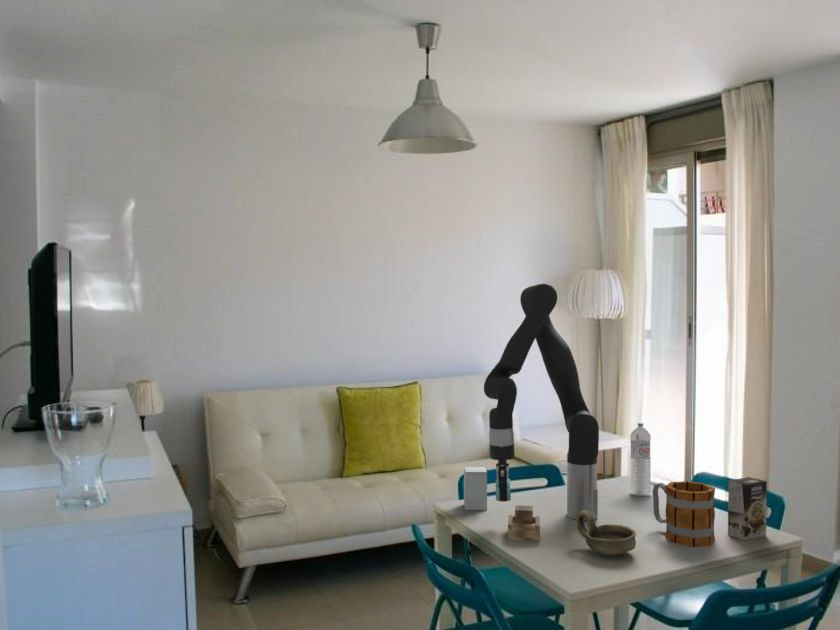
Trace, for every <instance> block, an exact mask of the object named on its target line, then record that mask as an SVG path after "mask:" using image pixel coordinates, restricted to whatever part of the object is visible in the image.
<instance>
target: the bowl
mask: <svg viewBox="0 0 840 630" xmlns="http://www.w3.org/2000/svg"><path fill="white" fill-rule="evenodd" d="M584 517H585V518H586V520H583V518H584ZM585 521H587V528H586V526H585ZM575 525H576V528H577V530H578V532H579V534H580V535H581V536H582V537H583V538H584V539H585V542H586V544H587V546H588V547H589V548H590V550H592V551H593V552H595V553H597V554H600V555H604V556H619V555H622V554H625V553H627V552H630V551H632V550H634V549H635V548H636V545H637V541H636V536H637V535H636V534H637V532H636V531H635V530H634V529H633V528H631V527H630V526H627V525H623V524H616V523H615V524H614V523H611V524H601V525H596V522H595V519H594V518H593V516H592V514H591V513H590V512H589V511H586V510H585V511H581V512H579V513H578V514H577V516H576V519H575Z"/></svg>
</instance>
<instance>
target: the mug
mask: <svg viewBox="0 0 840 630" xmlns="http://www.w3.org/2000/svg"><path fill="white" fill-rule="evenodd" d="M659 487H660V488H661V489H662V491H663V492H664V493H665V495H666V496H665V497H666V501H665V502H666V503H665V518H662V517H661V514H660V499H659ZM715 492H716V488H715V487H713V486H711V485H709V484H707V483H703V482H694V481H689V480H688V481H687V480H684V481H683V480H682V481H670V482H668V483H667V484H664V482H659V483H655V484H654V485H653V488H652V500H653V501H652V505H653V506H652V507H653V516H654V518H655V520H656V521H657V522H658V523H660V524H666V526H665V527H666V531H665V535H664V536H665V537H664V538H665V539H667V540H668V541H670V542H671V543H673V544H675V545H681V546H687V547H690V548H691V547H692V548H698V547H710V546H712V545H713V544H714V543H715V541H716V537H715V518H716V511H715Z"/></svg>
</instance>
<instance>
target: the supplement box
mask: <svg viewBox="0 0 840 630" xmlns="http://www.w3.org/2000/svg"><path fill="white" fill-rule="evenodd" d="M463 505H464V506H463V507H464V510H465V511H487V510H488V471H487V469H486V467H485V466H483V467H482V466H478V467H477V466H472V467H470V466H467V467H466V466H465V467H464V468H463Z"/></svg>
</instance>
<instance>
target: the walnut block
mask: <svg viewBox="0 0 840 630" xmlns="http://www.w3.org/2000/svg"><path fill="white" fill-rule="evenodd" d="M533 507H534V505H515V508H514V509H515V510H514V515H515V523H517V524H533V516H534V514H533V513H534V511H533V510H534V508H533Z"/></svg>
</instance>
